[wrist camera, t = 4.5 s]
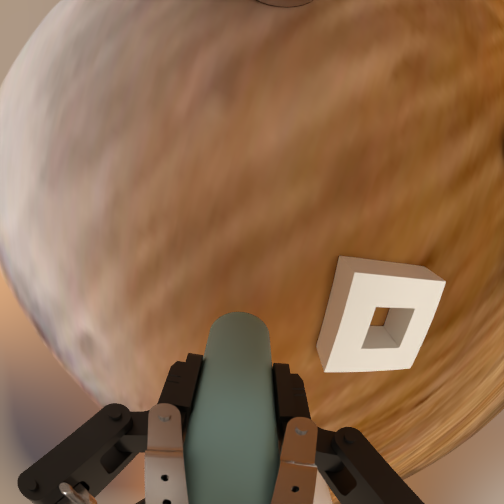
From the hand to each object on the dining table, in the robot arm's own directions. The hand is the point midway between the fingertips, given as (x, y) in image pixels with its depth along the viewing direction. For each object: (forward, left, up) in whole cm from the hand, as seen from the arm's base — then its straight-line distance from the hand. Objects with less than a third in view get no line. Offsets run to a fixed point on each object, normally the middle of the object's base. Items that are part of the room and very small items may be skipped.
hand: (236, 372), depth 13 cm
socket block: (+4, +16, -17) cm, 24 cm away
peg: (0, 0, -3) cm, 3 cm away
